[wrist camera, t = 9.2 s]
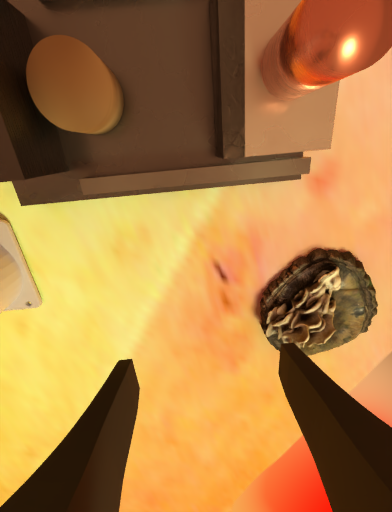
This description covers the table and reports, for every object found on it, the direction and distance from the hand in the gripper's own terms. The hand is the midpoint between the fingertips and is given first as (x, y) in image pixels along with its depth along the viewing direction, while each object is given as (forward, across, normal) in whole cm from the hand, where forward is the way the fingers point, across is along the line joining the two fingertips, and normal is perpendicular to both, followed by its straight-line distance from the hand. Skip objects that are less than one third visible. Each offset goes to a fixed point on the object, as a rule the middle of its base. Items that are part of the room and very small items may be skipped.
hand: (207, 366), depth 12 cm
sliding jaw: (+9, -5, -13) cm, 17 cm away
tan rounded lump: (+9, +6, -13) cm, 17 cm away
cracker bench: (+10, +2, -13) cm, 17 cm away
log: (+11, -11, +5) cm, 17 cm away
